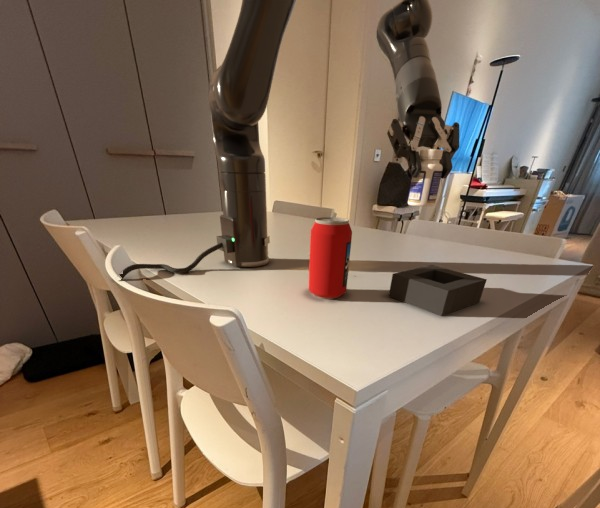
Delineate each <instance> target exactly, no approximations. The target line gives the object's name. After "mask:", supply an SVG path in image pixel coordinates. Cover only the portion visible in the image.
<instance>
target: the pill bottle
mask: <svg viewBox="0 0 600 508" xmlns="http://www.w3.org/2000/svg"><path fill="white" fill-rule="evenodd" d="M442 153H443V149H441V150H437V149H428V148H427V149H424V148H423V149H422V148H421V149H420V151H419V156H420V162H421V167H422V169H421V172H420V173H419V175H418V177H417V178H413V177H412V176H411V182H410V186H409V192H408V199H407V205H408V206H413V207H428V208H429V207H434V206H435V205H436V202H437V197H438V193H439V190H440V189H439V188H440V183H441V179H442V178H441V175H442V170H443V166H442V165H441V164H440V163H439V161H440V159H441V157H442Z"/></svg>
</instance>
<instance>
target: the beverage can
mask: <svg viewBox="0 0 600 508" xmlns="http://www.w3.org/2000/svg"><path fill="white" fill-rule="evenodd" d="M352 239H353V230H352V227H351V225H350V219H348V218H345V217H337V216H322V217H317V218H315V222H314V223H313V225H312V227H311V229H310V240H309V241H310V242H309V243H310V244H309V267H308V268H309V269H308V291H309V292H310V293H311V294H312V295H314V296H315V297H317V298H320V299H325V300H327V299H328V300H331V299H337V298H340V297H341V296H342V295H345V294H346V292H347V288H348V287H347V286H348V279H349V269H350V259H351V249H352Z"/></svg>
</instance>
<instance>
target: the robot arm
mask: <svg viewBox="0 0 600 508" xmlns="http://www.w3.org/2000/svg"><path fill="white" fill-rule="evenodd" d="M296 1H297V0H242V1H241V6H240V11H239V15H238V17H237V21H236V25H235V28H234V30H233V34H232V37H231V41H230V43H229V46H228V49H227V51H226V53H225V56H224V59H223V61H222V63H221V65H219V66H218V67H217V68H216V69H215V70H214V72H213V73H212V75H211V77H210V79H209V83H208V107H209V117H210V124H211V133H212V140H213V149H214V154H215V157H216V160H217V167H218V175H219V185H220V195H221V205H222V214H220V215H219V221H220V231H221V235H216V244H215V245H213V246H211V247H209V248H207V249H205V250H204V251H202V253H200V254H199V255H198V256H197V257H196V258H195V260H194V261H193V262H192V263H191V264H189V265H188V266H186V267H182V268H181V267H180V268H179V267H178V268H177V267H172V266H170V265H168V264H165V263H135V264H130V265H128V266H126V267H125V268H124V269H122V271H123V274H120V273H119V274H118V275H120V276H121V277H122V278H123V279H124V278H125V277H126V276H127V275H128V274H130V273H131V272H132V271H133V272H134V271H136V270H141V269H143V270H144V269H145V270H146V269H149V270H166V271H168V272H169V273H173V274H185V273H189V272H191V271H192V270H194V269H195V268H196V267H197V266H198V265H199V264H200V263H201V262H202V260H204V258H206V257H207V256H208V255H211V254H212V253H214V252H215V251H217V250H219V251H222V252H223V259H224V260H223V261H224V263H226V264H228V265H231V266H233V267H234V268H256V267H262V266H265V265H267V264H269V263H270V258H269V244H270V243H271V241H270V239H271V238H270V235H268V212H267V210H268V208H267V180H266V158H265V156H264V154H263V152H262V149H261V144H260V134H259V122H260V121H261V119H262V117H263V116H264V114H265V112H266V109H267V107H268V102H269V98H270V94H271V90H272V84H273V79H274V74H275V70H276V66H277V61H278V56H279V52H280V48H281V44H282V41H283V38H284V35H285V32H286V29H287V26H288V24H289V21H290V18H291V16H292V13H293V10H294V8H295V4H296V3H297V2H296ZM432 25H433V8H432V5H431V2H430V0H400V1H399V2H398V3H396V4H395V5H393V6H392V7H391V8H389V9H388V10H386V11H385V12H384V13H383V14H382V15H381V16H380V17H379V20H378V21H377V24H376V29H375V40H376V43H377V47H378V49H379V52H380V53H381V55H382V58H384V60H385V61H386V62H387V65H388V67H389V68H390V69H391V73H392V78H393V79H392V80H393V84H394V96H395V103H396V109H397V115H398V119H399V120H398V119H397V118H393V119H392V121H391V123H390V125H389V128H388V130H387V133H386V134H387V137H388V139H389V142H390V144H391V147H392V149H393V152H394V155H395V157H396V158H397V159H402V158H404V159H405V161H406V162H407V168H408V173H409V174H410V175H411V178H412V177H413V178H417V177H418V175H419V173H420V172H421V169H422V167H421V162H420V156H419V155H420V151H419V150H418V148H422V147H424V148H427V149H437V150H443V153H442V157H441V159H440V161H439V163H440V164H441V165H442V166H443V170H442V175H441V179H444V180H445V179H447V178H448V176H449V175H450V173H451V172H452V170H453V161H452V159H453V157H454V156H455V155H456V153H457V152H458V150H459V149H460V123H459V122H456V121H454V122H453V123H452V125H449V124H446V122H445V120H444V118H443V117H442V110H443V109H442V99H441V94H440V90H439V89H440V88H439V85H438V80H437V76H436V72H435V69H434V67H433V63H432V58H431V54H430V48H429V45H428V42H427V40H426V38H427V36H429V33H430V31H431V29H432ZM407 140H408V141H407Z"/></svg>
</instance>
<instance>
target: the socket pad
mask: <svg viewBox="0 0 600 508" xmlns="http://www.w3.org/2000/svg"><path fill="white" fill-rule="evenodd" d="M487 280H488V279H486V278H482V277H479V276H476V275H472V274H468V273H464V272H460V271H456V270H453V269H450V268H446V267H445V268H444V267H441V266H438V265H434V264H430V265H429V264H428V265H424V266H420V267H416V268H412V269H408V270H403V271H398V272H394V273H392V276H391V282H390V287H389V293H388V297H389V298H392V299H393V300H394V299H395V300H397V301H400V302H402V303H405V304H408V305H411V306H413V307H416V308H419V309H422V310H424V311H427V312H429V313H432V314H436V315H438V316H441V317H442V316H445V315H448V314H450V313H453V312H456V311H459V310H463V309H465V308H468V307H470V306H473V305H476V304H479V303H480V301H481V298H482V295H483V292H484V289H485V286H486V283H487Z"/></svg>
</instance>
